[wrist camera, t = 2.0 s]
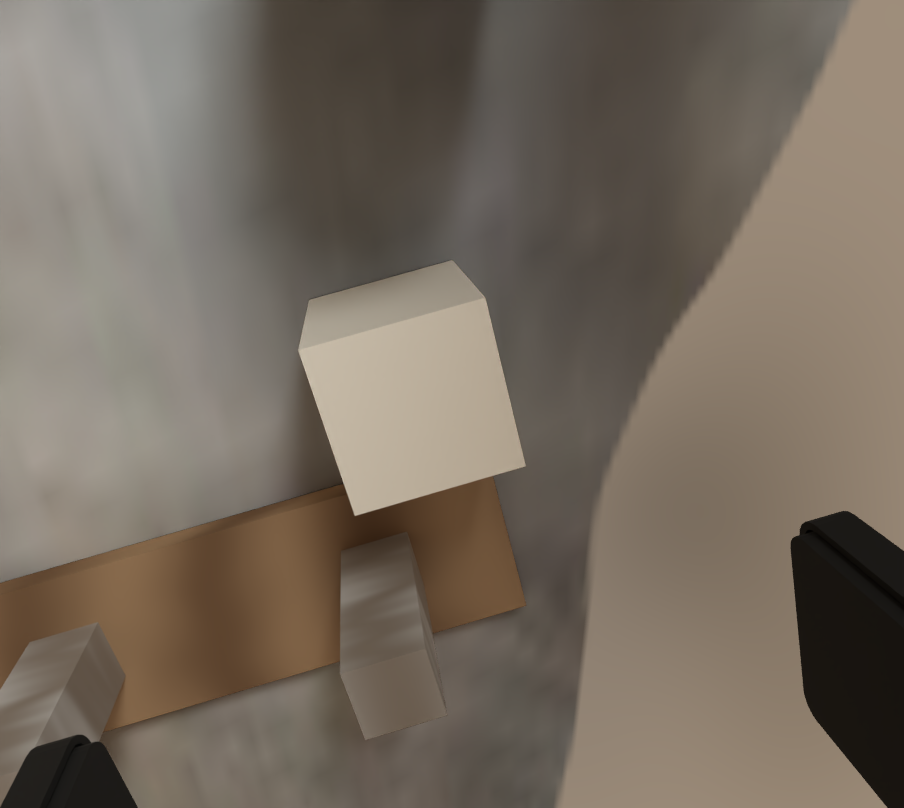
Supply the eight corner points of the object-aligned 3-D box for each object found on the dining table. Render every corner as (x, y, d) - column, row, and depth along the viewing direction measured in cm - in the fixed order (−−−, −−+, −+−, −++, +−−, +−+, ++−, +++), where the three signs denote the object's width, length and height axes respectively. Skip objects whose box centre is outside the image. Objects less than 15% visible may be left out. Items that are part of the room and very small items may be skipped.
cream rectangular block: (452, 259, 26) (485, 297, 20) (486, 394, 28) (525, 466, 22) (309, 300, 26) (298, 350, 20) (352, 432, 28) (354, 516, 22)
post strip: (482, 443, 29) (530, 550, 21) (521, 591, 31) (576, 733, 24) (-84, 607, 28) (-239, 778, 21) (2, 746, 31) (-109, 943, 23)
